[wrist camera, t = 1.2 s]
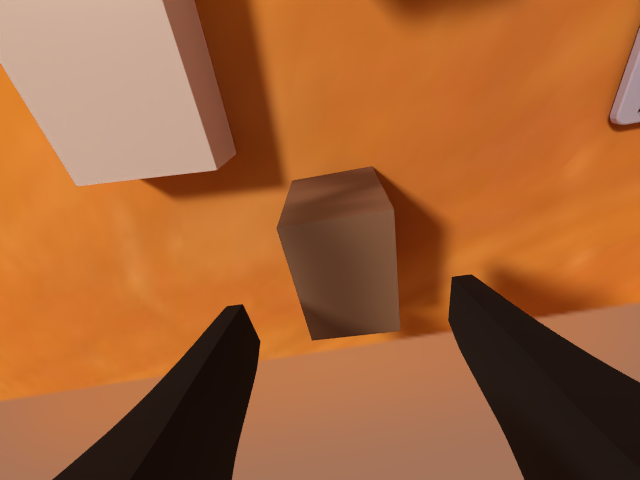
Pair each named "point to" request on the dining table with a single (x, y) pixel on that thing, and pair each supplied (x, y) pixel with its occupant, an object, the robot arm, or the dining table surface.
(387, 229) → the walnut brick
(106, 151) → the pale grey brick
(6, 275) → the dining table surface
